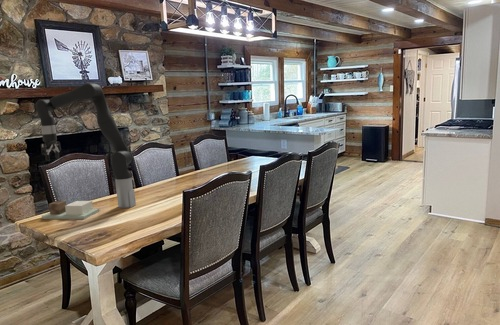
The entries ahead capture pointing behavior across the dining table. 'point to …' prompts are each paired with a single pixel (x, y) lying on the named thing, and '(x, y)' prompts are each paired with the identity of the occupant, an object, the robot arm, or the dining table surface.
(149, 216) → the dining table surface
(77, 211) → the block
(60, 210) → the walnut cube
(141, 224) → the dining table surface
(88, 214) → the serving board
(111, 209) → the dining table surface
